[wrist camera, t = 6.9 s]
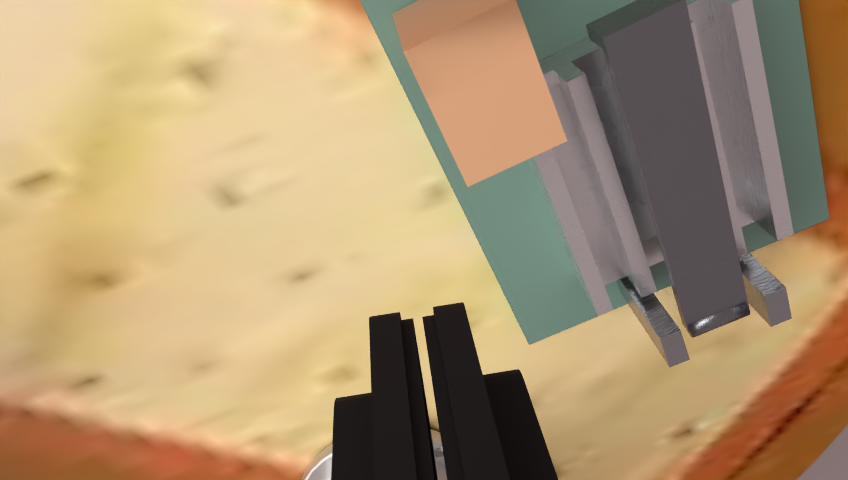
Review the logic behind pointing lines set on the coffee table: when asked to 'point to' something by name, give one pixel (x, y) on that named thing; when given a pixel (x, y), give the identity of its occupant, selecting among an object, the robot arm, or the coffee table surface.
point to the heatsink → (620, 183)
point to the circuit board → (519, 192)
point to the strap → (675, 155)
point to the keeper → (480, 82)
